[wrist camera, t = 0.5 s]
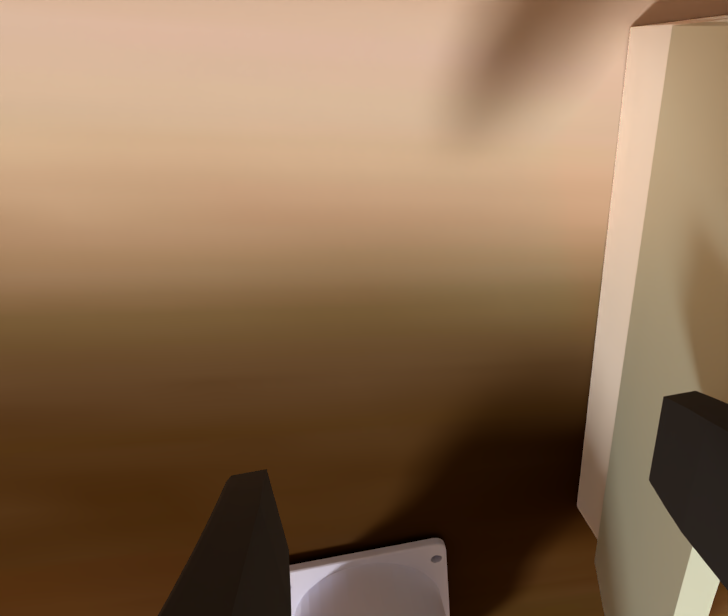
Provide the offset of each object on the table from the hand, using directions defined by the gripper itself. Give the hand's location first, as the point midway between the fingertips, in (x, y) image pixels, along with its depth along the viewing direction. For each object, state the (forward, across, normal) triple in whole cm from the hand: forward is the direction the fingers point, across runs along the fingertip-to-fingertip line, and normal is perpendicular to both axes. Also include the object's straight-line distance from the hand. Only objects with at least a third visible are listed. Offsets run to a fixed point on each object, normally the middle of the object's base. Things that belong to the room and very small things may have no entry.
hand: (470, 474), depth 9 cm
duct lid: (+3, -7, +3) cm, 8 cm away
